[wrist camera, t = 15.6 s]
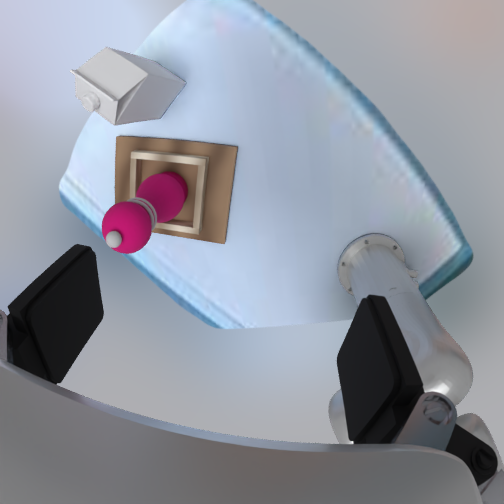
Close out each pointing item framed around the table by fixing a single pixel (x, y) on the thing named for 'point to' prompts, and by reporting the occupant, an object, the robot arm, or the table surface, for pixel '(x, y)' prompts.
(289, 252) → the table surface
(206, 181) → the stand
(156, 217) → the pepper mill
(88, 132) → the table surface
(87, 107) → the milk carton
